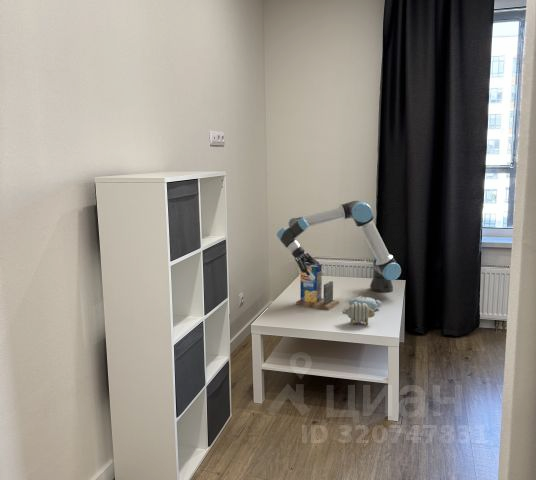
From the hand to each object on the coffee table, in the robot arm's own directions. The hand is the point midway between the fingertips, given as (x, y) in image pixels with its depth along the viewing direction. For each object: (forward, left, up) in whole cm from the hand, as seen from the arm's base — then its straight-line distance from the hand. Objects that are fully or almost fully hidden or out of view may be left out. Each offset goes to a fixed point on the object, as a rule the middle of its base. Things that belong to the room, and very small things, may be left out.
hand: (318, 276), depth 318 cm
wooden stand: (+1, 0, -17) cm, 17 cm away
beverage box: (+5, 0, -15) cm, 16 cm away
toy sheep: (-34, +21, -17) cm, 43 cm away
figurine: (-28, -4, -18) cm, 33 cm away
